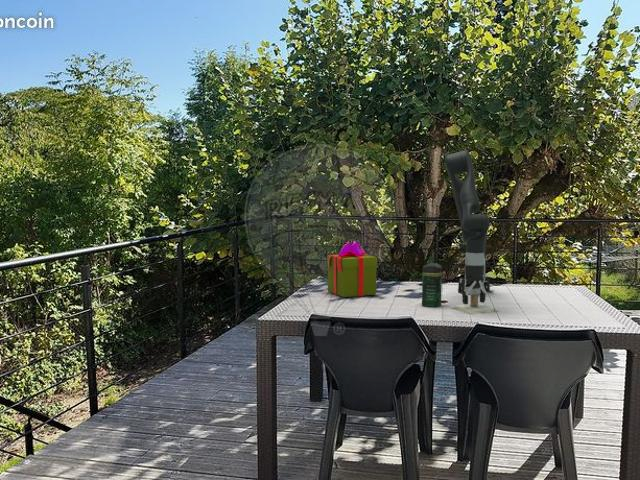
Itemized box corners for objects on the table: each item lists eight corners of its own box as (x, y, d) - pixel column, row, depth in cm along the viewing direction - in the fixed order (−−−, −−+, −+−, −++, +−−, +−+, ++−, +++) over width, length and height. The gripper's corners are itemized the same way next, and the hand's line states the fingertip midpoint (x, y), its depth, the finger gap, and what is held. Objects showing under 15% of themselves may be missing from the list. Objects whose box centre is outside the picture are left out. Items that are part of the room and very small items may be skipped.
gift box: (321, 293, 276) (321, 241, 274) (354, 289, 288) (354, 239, 286) (348, 299, 259) (348, 244, 257) (382, 294, 272) (382, 242, 270)
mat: (476, 307, 242) (476, 305, 242) (499, 313, 230) (499, 311, 230) (449, 309, 237) (449, 307, 237) (471, 316, 224) (471, 314, 224)
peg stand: (475, 306, 240) (476, 291, 240) (494, 310, 231) (494, 295, 230) (454, 308, 236) (454, 293, 235) (472, 313, 226) (472, 297, 225)
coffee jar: (439, 309, 237) (440, 265, 235) (420, 308, 239) (420, 264, 238) (442, 305, 246) (443, 262, 244) (424, 304, 248) (424, 261, 247)
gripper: (482, 261, 238) (481, 300, 239) (454, 263, 232) (453, 303, 233) (494, 263, 231) (493, 303, 232) (466, 265, 225) (465, 306, 227)
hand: (473, 303), depth 233 cm, fingers open, 8 cm apart
